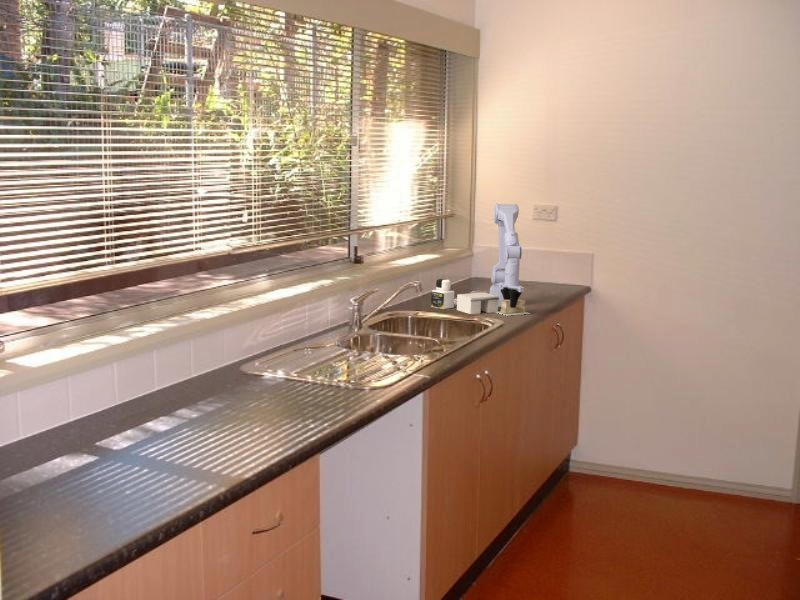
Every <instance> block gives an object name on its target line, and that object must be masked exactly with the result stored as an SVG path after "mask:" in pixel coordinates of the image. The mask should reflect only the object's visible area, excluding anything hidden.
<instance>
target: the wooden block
mask: <svg viewBox="0 0 800 600" xmlns="http://www.w3.org/2000/svg"><path fill="white" fill-rule="evenodd" d="M526 301H527V300H525V299H518V301H517V304H516V307H515V308H511V306H510V300H502V303H501V307H500V311H501V312H503V313H523V312H526Z"/></svg>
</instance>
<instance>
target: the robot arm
mask: <svg viewBox="0 0 800 600" xmlns="http://www.w3.org/2000/svg"><path fill="white" fill-rule="evenodd" d="M493 209H494V210H493V221H494V224H496V225H497V227H498V262H497V263H496V264H495V265H493V266H492V268H491V275H490V280H491V284H492V285H491V286H490V288H489V294H492V295H496V296H499V300H498V308H501V303H502V300H510V306H511V308H515V307H516V304H517V301H518V299H519V298H520V296H521V295H522V293H524V292H525V287H524V286H521V285H519V282H520V280H519V279H520V265H521V264H520V261H521V259H522V254H523V250H522V245H521V243H520V240H519V235H518V232H517V231H515V230H516V229H515V224H516V222H517V220H518V217H519V211H520V209H519V205H518V204H517V203H515V204H512V203H511V204H508V203H504V204H503V203H496V204H495V205H494V208H493Z"/></svg>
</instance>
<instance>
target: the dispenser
mask: <svg viewBox="0 0 800 600" xmlns="http://www.w3.org/2000/svg"><path fill="white" fill-rule="evenodd" d="M456 299H457V300H456V311H458V312H459V311H460V312H462V313H466V314H468V315H476V314H481V312H485V313H495V312H499V307H498V300H499V296H496V295H492V294H490V293H489V292H474V293H472V292H471V293H459V294H457V297H456Z"/></svg>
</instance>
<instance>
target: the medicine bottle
mask: <svg viewBox="0 0 800 600" xmlns="http://www.w3.org/2000/svg"><path fill="white" fill-rule="evenodd" d="M435 282H436V284H435V285H436V286H435V289H433V290H431V293H430V294H431V296H430V301H431V302H430V307H431V308H435V309H441V310H446V309H451V308H455V290H451V283H452V281H451V280H450V279H448V278H438V279H436V281H435Z"/></svg>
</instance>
